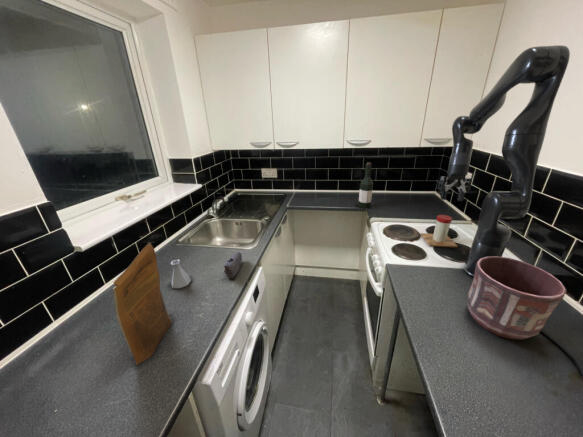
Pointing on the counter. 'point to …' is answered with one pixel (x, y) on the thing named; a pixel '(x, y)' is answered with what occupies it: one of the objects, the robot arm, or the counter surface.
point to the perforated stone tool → (233, 265)
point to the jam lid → (444, 218)
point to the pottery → (512, 297)
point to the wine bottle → (366, 189)
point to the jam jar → (441, 231)
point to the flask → (179, 275)
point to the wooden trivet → (434, 243)
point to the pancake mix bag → (141, 305)
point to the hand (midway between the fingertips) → (451, 200)
